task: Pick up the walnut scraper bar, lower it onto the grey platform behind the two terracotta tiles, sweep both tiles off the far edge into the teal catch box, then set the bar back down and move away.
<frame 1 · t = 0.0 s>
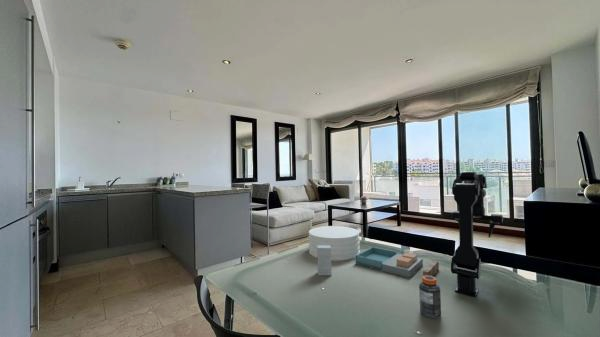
hand: (476, 235, 115), 15 cm above the table, tool pointing down, fingers open, 9 cm apart
platform: (402, 267, 117), on the table
skincare box: (324, 274, 112), on the table
pill bottle: (430, 314, 80), on the table
plate stack: (334, 252, 142), on the table
catch box: (376, 261, 125), on the table
scraper bar: (431, 275, 109), on the table
tile b: (409, 260, 118), point 3 cm above the table, touching platform
tile a: (404, 264, 113), point 3 cm above the table, touching platform
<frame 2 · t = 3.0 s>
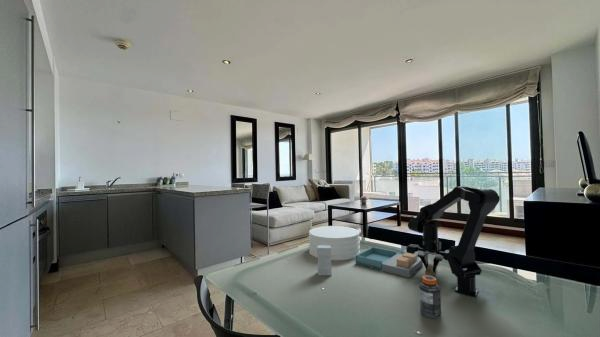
hand: (431, 272, 109), 1 cm above the table, tool pointing down, fingers closed on scraper bar, 2 cm apart
scraper bar: (431, 274, 109), on the table, touching gripper
everything else where it was.
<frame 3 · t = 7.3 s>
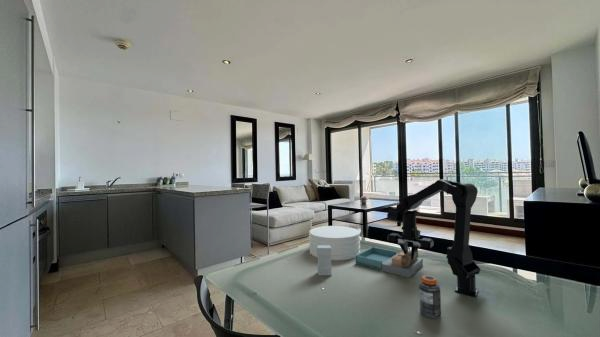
hand: (410, 259, 115), 5 cm above the table, tool pointing down, fingers closed on scraper bar, 2 cm apart
scraper bar: (410, 261, 115), point 4 cm above the table, touching gripper, tile a
tile b: (405, 259, 120), point 3 cm above the table, touching platform
tile a: (399, 263, 114), point 3 cm above the table, touching platform, scraper bar
everything else where it was.
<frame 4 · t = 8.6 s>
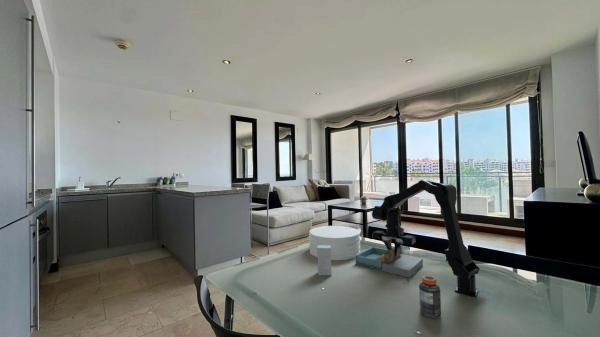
hand: (393, 255, 120), 5 cm above the table, tool pointing down, fingers closed on scraper bar, 2 cm apart
scraper bar: (393, 257, 120), point 4 cm above the table, touching gripper
tile b: (390, 257, 125), point 2 cm above the table, tilted 26°, touching platform
tile a: (383, 261, 119), point 2 cm above the table, tilted 26°, touching catch box
everything else where it was.
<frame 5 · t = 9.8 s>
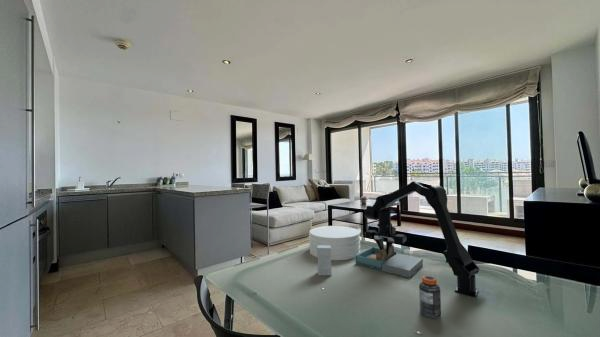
hand: (385, 254, 122), 5 cm above the table, tool pointing down, fingers closed on scraper bar, 2 cm apart
scraper bar: (385, 257, 122), point 3 cm above the table, touching gripper
tile b: (382, 257, 128), point 1 cm above the table, touching catch box
tile a: (375, 261, 122), point 1 cm above the table, touching catch box
everything else where it was.
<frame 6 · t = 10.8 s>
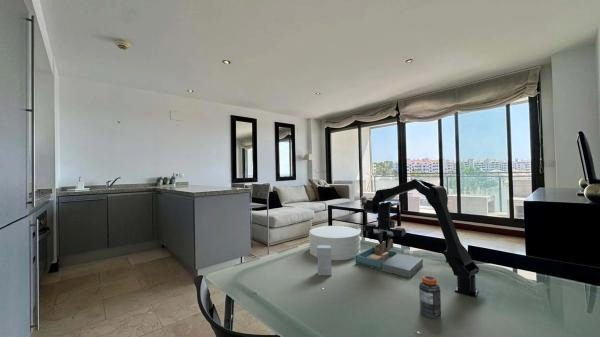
hand: (384, 247, 123), 8 cm above the table, tool pointing down, fingers closed on scraper bar, 2 cm apart
scraper bar: (384, 251, 123), point 6 cm above the table, touching gripper
everything else where it was.
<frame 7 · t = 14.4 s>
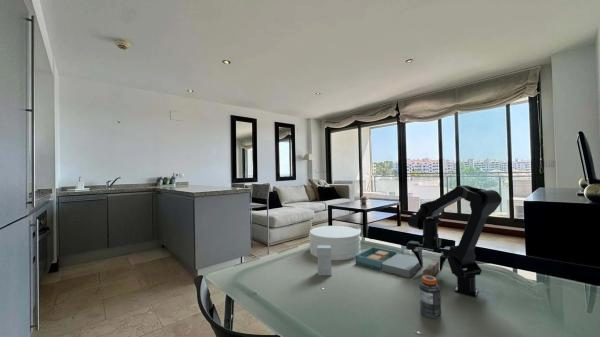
hand: (431, 268, 109), 3 cm above the table, tool pointing down, fingers open, 7 cm apart
scraper bar: (431, 275, 109), on the table
everything else where it was.
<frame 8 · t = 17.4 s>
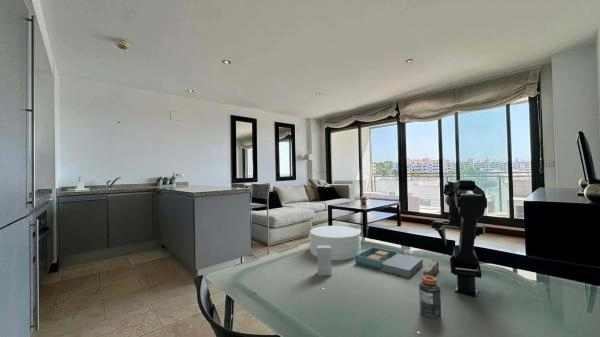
hand: (457, 247, 107), 12 cm above the table, tool pointing down, fingers open, 9 cm apart
at the end: tile a inside the target area on the catch box (4.1 cm from its centre), point 1.2 cm above the catch box's base; tile b inside the target area on the catch box (4.1 cm from its centre), point 1.2 cm above the catch box's base; the gripper is holding nothing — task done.
